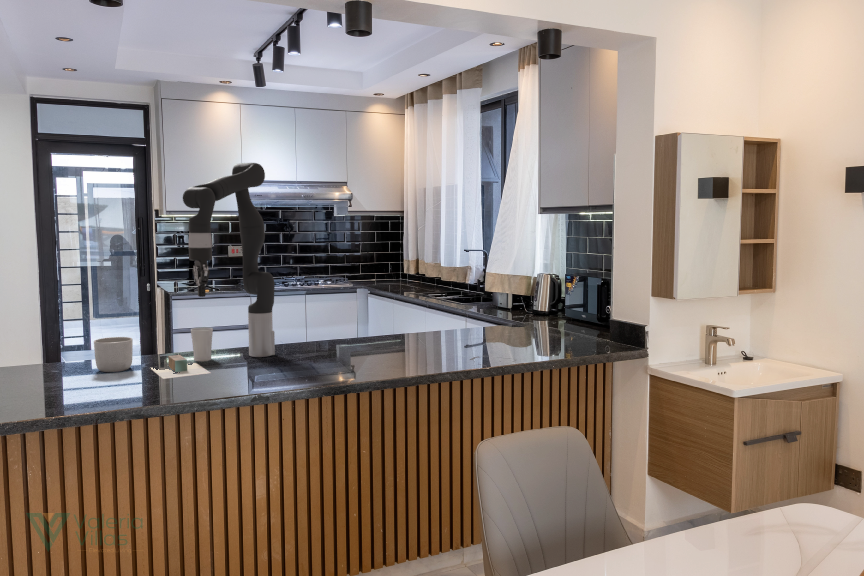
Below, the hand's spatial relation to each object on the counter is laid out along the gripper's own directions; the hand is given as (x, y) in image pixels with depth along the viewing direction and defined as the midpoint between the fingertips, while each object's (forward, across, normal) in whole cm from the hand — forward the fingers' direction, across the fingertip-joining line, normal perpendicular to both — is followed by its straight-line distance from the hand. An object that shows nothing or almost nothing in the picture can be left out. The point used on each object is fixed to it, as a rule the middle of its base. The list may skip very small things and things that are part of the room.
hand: (201, 296), depth 230 cm
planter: (+27, +22, +25) cm, 43 cm away
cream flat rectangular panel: (+27, +8, +6) cm, 29 cm away
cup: (+27, +23, -6) cm, 36 cm away
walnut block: (+25, +6, +6) cm, 26 cm away
